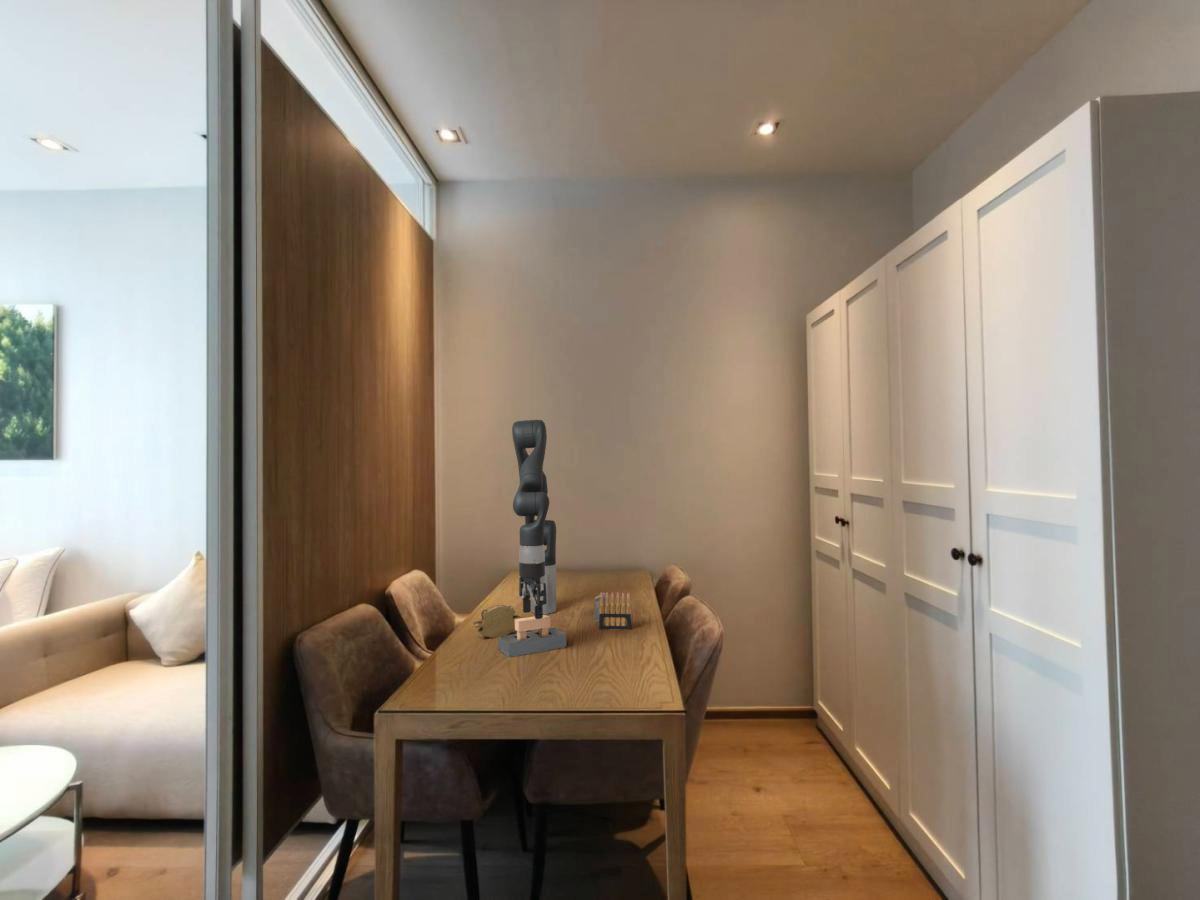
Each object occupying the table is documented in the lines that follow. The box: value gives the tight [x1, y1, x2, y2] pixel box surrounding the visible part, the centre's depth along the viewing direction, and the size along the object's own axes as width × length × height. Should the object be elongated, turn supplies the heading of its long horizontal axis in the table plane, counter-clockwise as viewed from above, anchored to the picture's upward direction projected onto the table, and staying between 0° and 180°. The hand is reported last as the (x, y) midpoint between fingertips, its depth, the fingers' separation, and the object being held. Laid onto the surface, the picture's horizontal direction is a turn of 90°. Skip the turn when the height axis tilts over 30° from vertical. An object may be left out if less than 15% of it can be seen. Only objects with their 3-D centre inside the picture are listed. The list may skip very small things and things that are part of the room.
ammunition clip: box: [598, 591, 633, 630], centre depth 209 cm, size 11×2×12 cm, turn 84°
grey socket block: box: [498, 627, 567, 658], centre depth 188 cm, size 8×18×4 cm, turn 120°
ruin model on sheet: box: [593, 592, 607, 620], centre depth 224 cm, size 11×3×10 cm, turn 168°
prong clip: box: [515, 614, 551, 639], centre depth 188 cm, size 3×10×8 cm, turn 120°
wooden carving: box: [473, 604, 523, 639], centre depth 201 cm, size 16×5×10 cm, turn 123°
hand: (532, 615), depth 188 cm, fingers open, 8 cm apart
